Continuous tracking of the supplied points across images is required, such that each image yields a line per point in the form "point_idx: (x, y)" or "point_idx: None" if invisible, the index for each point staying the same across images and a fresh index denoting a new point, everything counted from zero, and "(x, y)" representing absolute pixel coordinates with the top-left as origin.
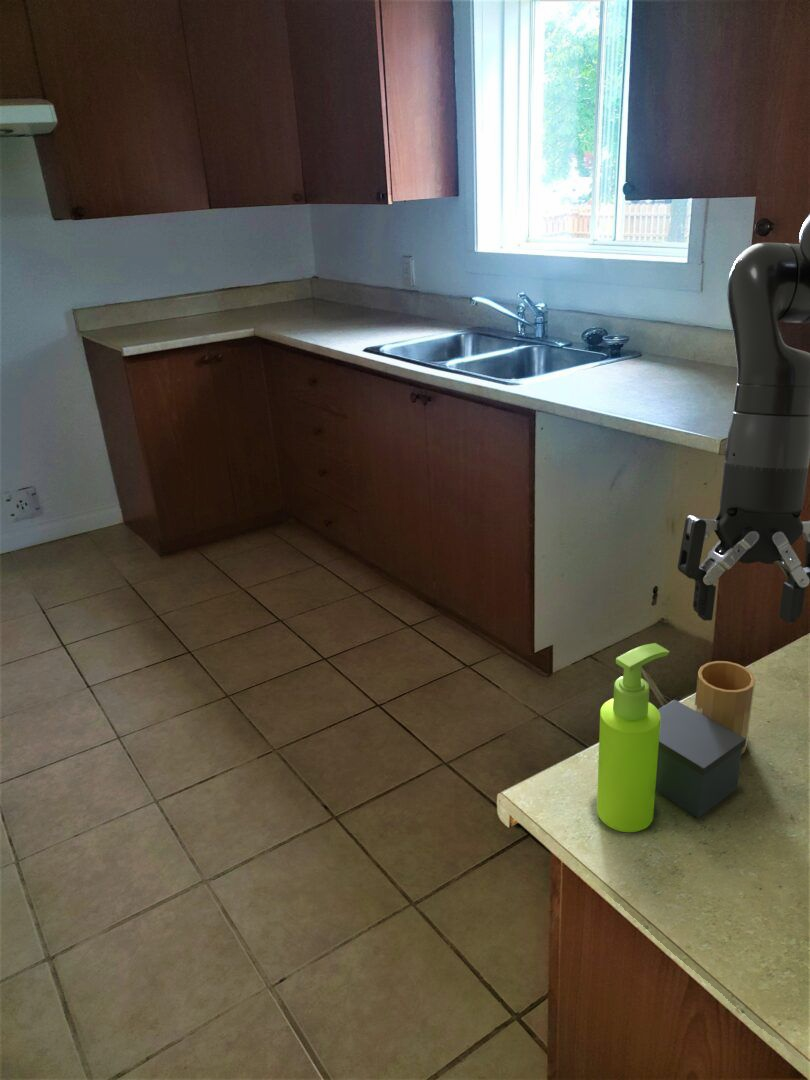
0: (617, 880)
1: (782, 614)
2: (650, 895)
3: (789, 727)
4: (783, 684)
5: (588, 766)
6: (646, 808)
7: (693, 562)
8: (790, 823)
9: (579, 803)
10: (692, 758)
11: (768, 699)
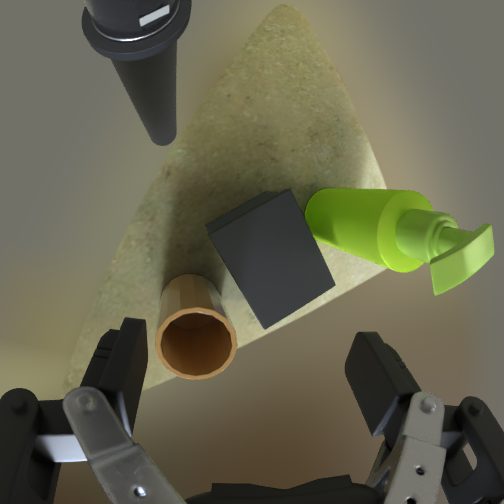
0: (361, 140)
1: (145, 355)
2: (342, 118)
3: (102, 313)
4: None
5: (338, 285)
6: (332, 190)
7: (489, 431)
8: (173, 166)
9: None
10: (295, 210)
11: None
